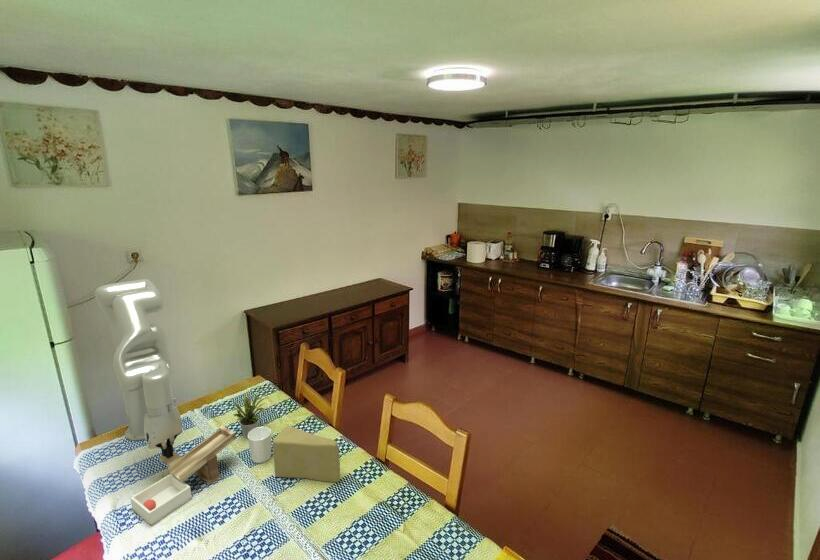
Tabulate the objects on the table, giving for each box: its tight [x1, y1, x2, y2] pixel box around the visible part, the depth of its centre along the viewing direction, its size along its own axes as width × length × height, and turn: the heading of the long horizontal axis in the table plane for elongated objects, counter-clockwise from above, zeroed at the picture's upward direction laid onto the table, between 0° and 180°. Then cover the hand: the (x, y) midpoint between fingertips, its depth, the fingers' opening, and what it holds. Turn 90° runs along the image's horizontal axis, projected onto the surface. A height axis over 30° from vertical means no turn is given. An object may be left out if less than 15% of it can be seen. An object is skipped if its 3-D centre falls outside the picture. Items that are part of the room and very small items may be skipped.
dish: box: [130, 473, 193, 527], centre depth 125 cm, size 11×12×4 cm
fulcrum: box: [193, 454, 222, 485], centre depth 137 cm, size 10×4×9 cm, turn 59°
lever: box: [158, 425, 237, 482], centre depth 137 cm, size 16×20×4 cm
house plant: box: [229, 391, 269, 439], centre depth 157 cm, size 14×14×16 cm
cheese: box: [272, 425, 341, 483], centre depth 138 cm, size 22×10×15 cm, turn 75°
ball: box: [143, 499, 156, 511], centre depth 122 cm, size 4×4×4 cm
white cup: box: [247, 426, 272, 464], centre depth 146 cm, size 8×8×10 cm
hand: (168, 455), depth 135 cm, fingers closed
